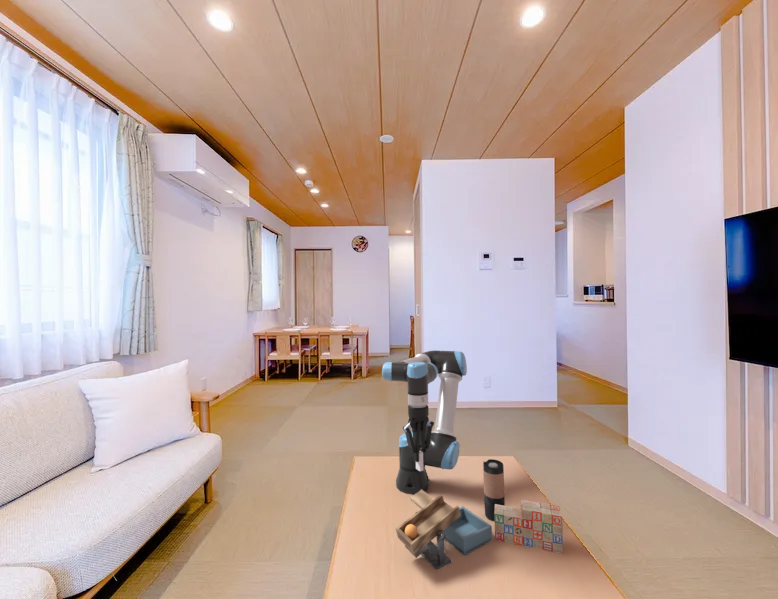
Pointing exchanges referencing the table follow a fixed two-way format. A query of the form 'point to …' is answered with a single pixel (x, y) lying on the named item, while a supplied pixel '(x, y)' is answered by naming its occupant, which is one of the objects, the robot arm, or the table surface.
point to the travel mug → (493, 486)
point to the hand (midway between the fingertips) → (419, 469)
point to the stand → (437, 552)
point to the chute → (427, 521)
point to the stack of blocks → (530, 525)
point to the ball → (411, 531)
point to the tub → (468, 532)
